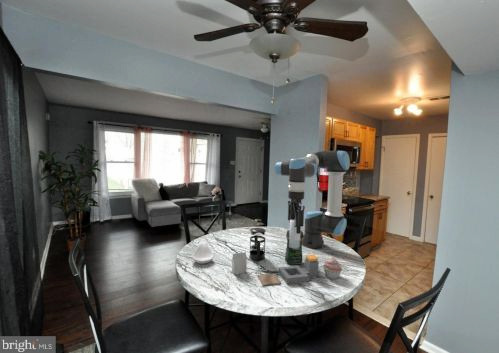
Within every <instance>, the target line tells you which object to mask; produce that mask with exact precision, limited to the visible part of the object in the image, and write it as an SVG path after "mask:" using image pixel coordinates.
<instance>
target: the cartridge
mask: <svg viewBox="0 0 499 353" xmlns="http://www.w3.org/2000/svg"><path fill="white" fill-rule="evenodd" d="M294 226H296V222H295V219H291V220H290V222H289V230H290V234H289V247H290V248H295V249H296V248H299V244H300V240H294V233H295V227H294Z"/></svg>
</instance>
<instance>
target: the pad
mask: <svg viewBox="0 0 499 353" xmlns="http://www.w3.org/2000/svg"><path fill="white" fill-rule="evenodd" d="M257 278H258V280H259V282H260V283H261V285H262V287H266V286H275V285H282V282H281V280H280V279H279V277H278V276H277V275H276V274H275V273H267V274H266V273H265V274H258V275H257Z"/></svg>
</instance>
